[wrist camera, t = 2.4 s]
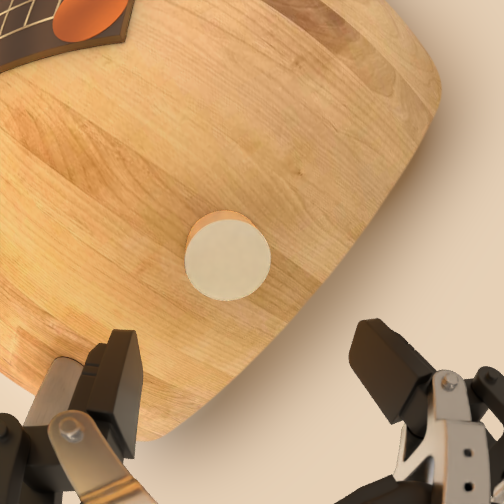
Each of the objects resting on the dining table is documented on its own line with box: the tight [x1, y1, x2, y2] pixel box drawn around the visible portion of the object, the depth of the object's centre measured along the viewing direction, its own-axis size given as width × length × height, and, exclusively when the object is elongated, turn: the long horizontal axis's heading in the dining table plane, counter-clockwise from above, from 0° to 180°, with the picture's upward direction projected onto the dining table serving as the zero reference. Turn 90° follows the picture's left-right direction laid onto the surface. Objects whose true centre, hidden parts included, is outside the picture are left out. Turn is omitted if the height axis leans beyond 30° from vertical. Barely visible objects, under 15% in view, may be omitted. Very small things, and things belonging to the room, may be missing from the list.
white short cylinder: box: [184, 210, 271, 301], centre depth 19 cm, size 5×5×3 cm
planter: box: [23, 357, 83, 426], centre depth 17 cm, size 4×4×10 cm
